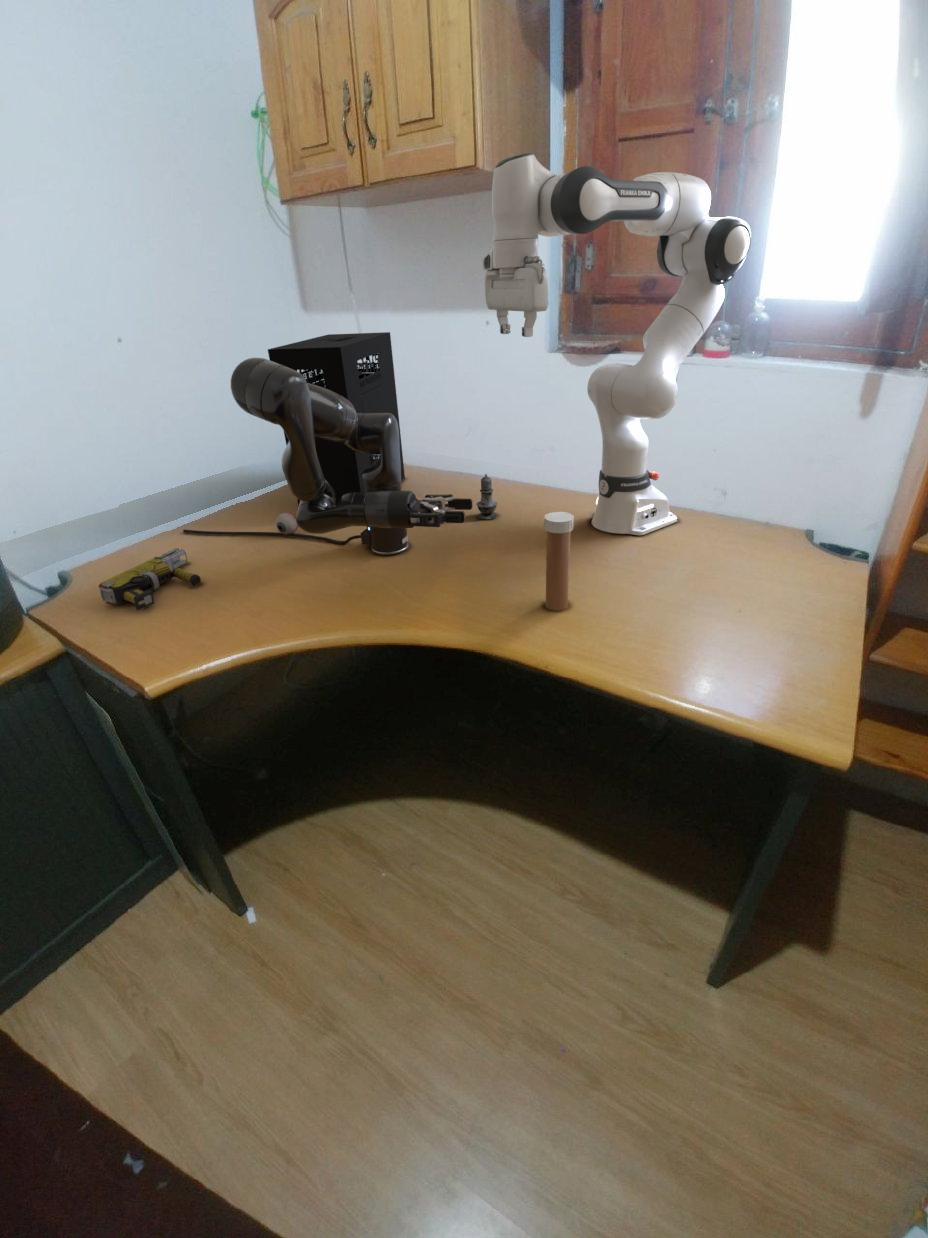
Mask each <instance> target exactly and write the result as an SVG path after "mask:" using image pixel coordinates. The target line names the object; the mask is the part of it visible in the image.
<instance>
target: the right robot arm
mask: <svg viewBox="0 0 928 1238" xmlns="http://www.w3.org/2000/svg"><path fill="white" fill-rule="evenodd" d="M711 200H712V194H711V189H710V186H709V185H708V183H707V182H706V181H705V180H704V179H703V178H701V177H698V176H695V175H692V174H689V173H682V172H675V171H673V172H672V171H660V172H659V171H658V172H651V173H646V174H641V175H640V176H637V177H635V178H633V179H632V180H624V179H623V180H621V179H613V178H610V177H609V176H607V175H606V174H604V173H603V172H601V171H600V170H599V169H596V168H594V167H592V166H585V165H584V166H579V167H577V168H575V169H573V170H569V171H568V172H566V173H565V172H564V173H562V174H559V175H558V174H556V173H554V172H552V171H551V170H549V169H547V168H546V167H545V166H543V165H542V163H540V161H539V160H538V159H537V157H536V156H535V153H531V152H525V153H520V154H517V155H513V156H509V157H507V158H504V159H501V160H500V161H499V162H497V164H496V165H495V167H494V170H493V174H492V183H491V216H492V220H493V227H494V228H493V235H492V248H491V249H490V250H489V252H488V253H487V254H486V255H485V256H484V257H483V258H482V269H483V271H485V273H484V297H485V304H486V306H487V307H486V308H487V309H488V310H492V311H496V318H497V321H498V323H499V324H498V325H499V333H500V335H510V334H511V324H509V318H508V316H509V312H523V318H524V323H523V326H522V327H521V336H522V337H523V338H531V337H533V335H534V326H535V324H536V320H537V318H538V316H537V315H538V314H537V313H540V312H546V311H547V310H548V308H549V307H548V306H549V303H550V297H549V296H550V295H549V279H548V278H549V277H548V273H547V269H546V268H545V263H544V262H543V260H542V258H541V256H539V236H542V237H546V238H547V237H549V238H550V237H557V236H558V237H560V236H566V235H567V236H568V235H585V234H586V235H587V234H589V233H592V232H594V231H595V230H597V229H598V228H600V227H602V226H603V225H605V224H606V223H608V222H623V224H624V226H625V227H626V230H628V232H629V233H631V234H634V235H639V236H645V237H658V242H657V248H656V259H657V264H658V267H659V269H660V270H661V271H662V272H663V273H664V274H666V275H669V276H672V277H682V279H681V283H680V285H679V287H678V289H677V291H676V292H675V294H674V295H673V296H672V297H671V298H670V300H669V301H668V302H667V303H666V305H665V306H664V307H663V308H662V310H661V311H660V313H659V314H658V315H657V316H656V318H655V319H654V320H653V322H652V323H651V324H650V326H649V327H647V330H646V331H645V332H644V335H643V337H642V345H643V350H644V351H643V353H642V356H641V358H640V359H639V360H638V361H637V363H635V364H625V363H619V362H615V363H614V362H613V363H607V364H604V365H601V366H597V368H595V369H594V371H593V372H591V374H590V376H589V378H588V380H587V395H588V398H589V399H590V401H591V402H592V404H593V406H594V408H595V411H596V414H597V417H598V418H597V419H598V421H599V427H600V432H601V440H602V447H601V448H602V449H601V450H602V451H601V468H600V470H599V474H598V492H599V493H598V496H597V498H596V501H595V505H596V507H595V511H594V514H593V517H592V520H591V525H592V526H593V527H594V528H595V529H597V530H599V531H601V532H605V533H611V534H623V535H625V534H626V535H632V536H633V535H634V536H645V535H646V534H650V533H652V532H654V531H657V530H660V529H662V528H665V527H668V526H670V525H672V524H675V523H677V522H678V516H677V515H676V514H675V513H674V512H672V511H670V503H669V502H670V501H669V498H668V497H667V496H666V495H665V494H664V493H663V492H661V491H660V490H659V489H658V488H656V487H655V486H654V485H652V483H651V480H653V481H658V479H659V478H660V473H659V472H657V471H654V470H651V471H649V470H648V469H647V466H648V458H649V457H648V455H649V446H650V441H649V437H648V435H647V434H646V432H645V431H644V429H643V427H642V424H641V420H656V419H662V418H664V417H666V416H667V415H669V413H670V412H671V411H672V410H673V408H674V406H675V405H676V402H677V399H678V395H679V389H678V388H679V387H678V383H677V377H678V373H679V371H680V368H681V366H682V365H683V363H684V361H685V359H686V358H687V357H688V355H689V354H690V353H691V352H692V350H693V348H694V347H695V346H696V345H697V343H698V342H699V340H701V338H702V337H703V336H704V335H705V333H706V331H707V330H708V328H709V327H710V325H711V324H712V322H713V321H714V319H715V318H716V316H717V315H718V313H719V311H720V309H721V307H722V305H723V303H724V300H725V288H724V285H725V284H727V283H729V282H730V281H732V280H733V279H734V278H735V275H736V274H737V271H738V270H739V269H740V268H741V267H742V265H743V263H744V262H745V260H746V258H747V256H748V254H749V252H750V249H751V243H752V231H751V228H750V225H749V224H748V223H747V222H746V221H745V220H743V219H741V218H738V217H736V216H724V217H710V215H709V210H710V207H711Z"/></svg>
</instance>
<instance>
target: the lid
mask: <svg viewBox="0 0 928 1238" xmlns="http://www.w3.org/2000/svg"><path fill="white" fill-rule="evenodd" d="M574 522H575V518H574V515H573V514H572V513H570V512H566V511H552V512H549V513H546V514H545V515H544V518H543V529H544V531H546V532H547V531H548V532H551V533H567V532H570V531H571V532H572V531H573V530H574V527H575V526H574Z"/></svg>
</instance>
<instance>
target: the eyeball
mask: <svg viewBox="0 0 928 1238" xmlns="http://www.w3.org/2000/svg"><path fill="white" fill-rule="evenodd" d="M275 527H276V529H277V530H278V532H279V533H283V534H291V533H294V534H295V533H296V532H297V531H298V529H299V528H300V527H299V526H298V524H297V522H296V514H294V513H292V512H287V511H286V512H282V513H280V514H279V515H278V516H277V517H276V520H275Z"/></svg>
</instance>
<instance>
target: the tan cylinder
mask: <svg viewBox="0 0 928 1238" xmlns="http://www.w3.org/2000/svg"><path fill="white" fill-rule="evenodd" d="M571 533H572V531H570V532H567V533H551V532H548V531H546V541H545V542H546V544H545V548H546V549H545V552H546V553H545V595H544V596H545V598H544V599H545V603H544V605H545V608H546V609H548V610H550V611H555V612H559V611H564V610H566V609H568V607H569V587H570V586H569V585H570V584H569V583H570V561H571V560H570V559H571Z"/></svg>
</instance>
